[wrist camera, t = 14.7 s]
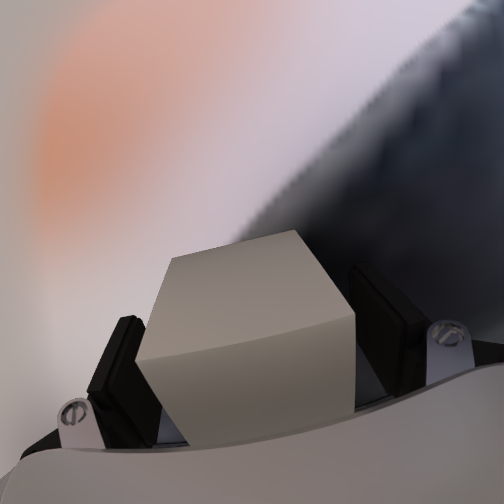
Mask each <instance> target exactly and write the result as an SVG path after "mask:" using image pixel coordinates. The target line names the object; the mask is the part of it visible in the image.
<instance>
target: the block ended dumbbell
mask: <svg viewBox="0 0 504 504" xmlns="http://www.w3.org/2000/svg"><path fill="white" fill-rule="evenodd" d="M135 362H136V363H137V365H138V367H139V369H140V370H141V372H142V374H143V375H144V377H145V379H146V380H147V382H148V384H149V385H150V387H151V389H152V390H153V392H154V393H155V395H156V397H157V398H158V400H159V401H160V403H161V404H162V406H163V408H164V409H165V411H166V412H167V414H168V415H169V417H170V418H171V420H172V421H173V422H174V424H175V425H176V427H177V428H178V430H179V431H180V432H181V434H182V435H183V437H184V438H185V439H186V441H187V442H188V443H189V445H190V446H201V445H210V444H219V443H226V442H233V441H240V440H246V439H252V438H258V437H263V436H268V435H273V434H278V433H283V432H288V431H292V430H296V429H300V428H304V427H308V426H312V425H316V424H320V423H324V422H327V421H331V420H334V419H337V418H341V417H344V416H347V415H350V414H354V407H355V376H356V332H355V313H354V311H353V310H352V308H351V307H350V305H349V304H348V303H347V301H346V300H345V298H344V297H343V295H342V294H341V293H340V291H339V290H338V288H337V287H336V286H335V284H334V283H333V281H332V280H331V278H330V277H329V276H328V274H327V273H326V272H325V270H324V269H323V267H322V266H321V265H320V263H319V262H318V260H317V259H316V258H315V256H314V255H313V254H312V252H311V251H310V250H309V248H308V247H307V245H306V244H305V243H304V241H303V240H302V239H301V237H300V236H299V235H298V233H297V232H296V231H295V230H290V231H286V232H282V233H277V234H273V235H269V236H264V237H260V238H256V239H251V240H247V241H243V242H239V243H234V244H230V245H226V246H221V247H217V248H213V249H209V250H205V251H201V252H196V253H192V254H188V255H184V256H180V257H175V258H172V260H171V262H170V265H169V267H168V270H167V273H166V275H165V278H164V280H163V283H162V286H161V288H160V291H159V294H158V296H157V299H156V302H155V304H154V307H153V310H152V313H151V316H150V318H149V321H148V324H147V327H146V330H145V333H144V336H143V339H142V342H141V345H140V348H139V351H138V354H137V357H136V360H135Z"/></svg>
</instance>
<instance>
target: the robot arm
mask: <svg viewBox="0 0 504 504" xmlns="http://www.w3.org/2000/svg"><path fill="white" fill-rule="evenodd" d="M349 285H350V303H351V308H352V310H353V311H354V313H355V332H356V341H357V343H358V344H359V346H360V348H361V349H362V351H363V353H364V354H365V356H366V358H367V359H368V361H369V363H370V365H371V366H372V368H373V370H374V372H375V373H376V375H377V377H378V378H379V380H380V382H381V384H382V385H383V387H384V389H385V391H386V393H387V394H388V395H389V396H394V398H395V399H393V400H390V401H388V402H385V403H382V404H380V405H377V406H374V407H371V408H368V409H365V410H363V411H360V412H357V413H354V414H350V415H347V416H344V417H341V418H337V419H334V420H331V421H327V422H324V423H320V424H316V425H312V426H308V427H304V428H300V429H296V430H292V431H288V432H283V433H278V434H273V435H268V436H263V437H258V438H252V439H246V440H240V441H233V442H226V443H219V444H210V445H201V446H190V447H177V448H157V449H152V448H153V445H156V443H157V437H158V430H159V424H160V417H161V411H162V404H161V403H160V401H159V400H158V398H157V397H156V395H155V393H154V392H153V390H152V389H151V387H150V385H149V384H148V382H147V380H146V379H145V377H144V375H143V374H142V372H141V370H140V369H139V367H138V365H137V363H136V362H135V360H136V357H137V354H138V351H139V348H140V345H141V342H142V339H143V336H144V333H145V330H146V328H145V326H144V324H143V321H142V320H141V319H140V318H137V317H136V316H135V315H131V316H126V317H121V318H120V319H119V321H118V323H117V325H116V327H115V329H114V331H113V333H112V335H111V337H110V340H109V342H108V344H107V346H106V348H105V350H104V353H103V355H102V357H101V359H100V362H99V363H98V366H97V368H96V370H95V373H94V375H93V377H92V380H91V382H90V384H89V386H88V389H87V393H88V394H89V395H88V397H87V399H84V398H75V399H73V400H70V401H69V402H67V403H66V404H65V405H64V406H63V407H62V408H61V409H60V411H59V413H58V417H57V423H58V428H57V429H56V430H54V431H53V432H51V433H50V434H48V435H47V436H45V437H44V438H42V439H41V440H39V441H38V442H36V443H35V444H33V445H32V446H30V447H29V448H28V449H26V450H25V451H24V452H23V454H22V456H21V458H20V461H19V462H18V464H17V465H16V466H15V467H14V468H13V469H12V470H11V471H10V472H8V473H7V474H6V475H5V476H4V477H2V478H1V479H0V504H504V344H497V343H490V342H484V341H477V340H471V337H470V333H469V330H468V329H467V328H466V326H465V325H463V324H462V323H460V322H457V321H454V320H440V321H438V322H435V323H434V324H432V323H431V322H430V320H429V319H428V318H427V317H426V316H425V315H424V314H423V313H422V312H421V311H420V310H419V309H418V308H417V307H416V306H415V305H414V304H413V303H412V302H411V301H410V300H409V299H408V298H407V297H406V296H405V295H404V294H403V293H402V292H401V291H400V290H399V289H396V288H395V287H394V286H393V285H392V284H391V283H390V282H389V281H388V280H387V279H386V278H385V277H384V276H383V275H382V274H381V273H380V272H379V271H378V270H377V269H376V268H375V267H374V266H372V265H371V264H370V263H369V262H363V263H360V264H356V265H354V266H353V269H352V270H349Z"/></svg>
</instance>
